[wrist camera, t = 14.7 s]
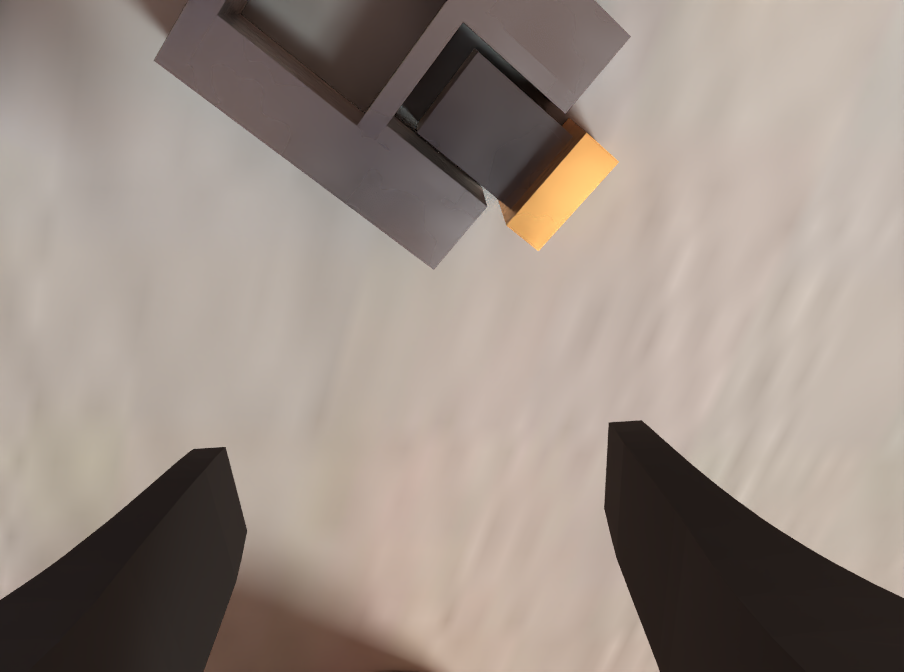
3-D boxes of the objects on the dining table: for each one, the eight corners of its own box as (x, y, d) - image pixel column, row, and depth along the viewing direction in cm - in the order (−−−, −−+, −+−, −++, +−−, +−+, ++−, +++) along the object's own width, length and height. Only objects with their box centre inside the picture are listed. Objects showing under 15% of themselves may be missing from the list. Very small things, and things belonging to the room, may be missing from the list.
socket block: (183, 54, 19) (153, 60, 17) (347, -224, 16) (335, -256, 14) (433, 245, 21) (433, 269, 19) (610, 32, 19) (630, 36, 17)
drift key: (411, 130, 20) (408, 146, 18) (481, 38, 19) (488, 43, 16) (526, 224, 21) (538, 251, 19) (597, 143, 20) (619, 161, 18)
